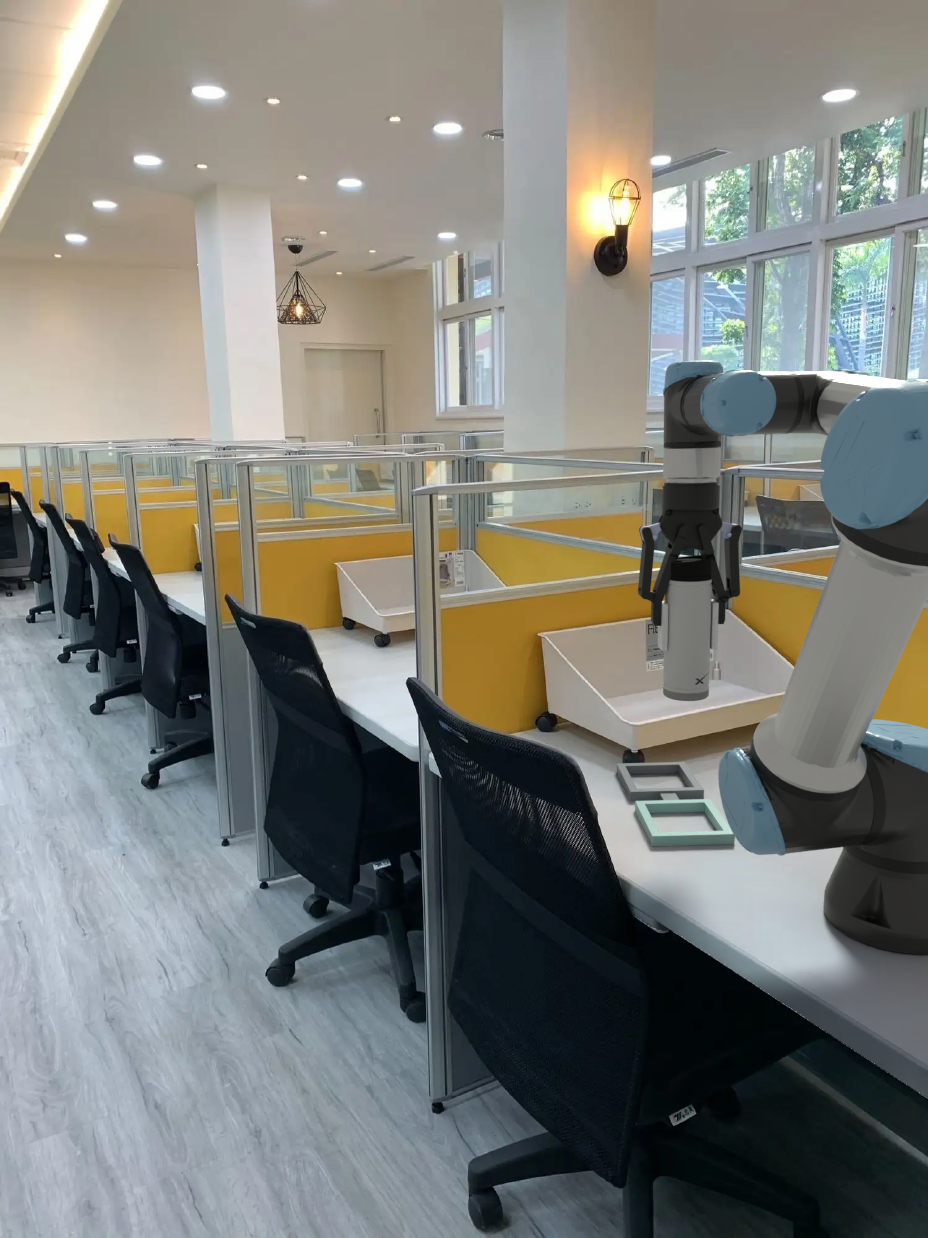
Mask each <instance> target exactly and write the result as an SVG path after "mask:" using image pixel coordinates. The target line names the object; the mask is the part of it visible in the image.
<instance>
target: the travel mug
mask: <svg viewBox="0 0 928 1238" xmlns="http://www.w3.org/2000/svg"><path fill="white" fill-rule="evenodd" d="M714 555H715V554H714ZM714 555H709V556H712V557H713V560H715V559H716V555H715V556H714ZM709 556H708V557H707V559H702V557H701V554H696V555H695V554H694V555H686V556H679V557H678V558H677V561H676V563H674V562H673V563H671V573H672V575H671V578H670V581H669V584H668V587H667V590H666V593H665V596H664V601H665V602H666V603H667V604H668V643H667V651H663V675H662V676H663V684H662V688H663V689H662V690H663V691H662V693H663V694H662V695H664V697H666V698H668V699H671V700H672V701H673V700H674V701H680V702H696V701H697V702H698V701H703V700H705V699H707V698H708V697H709V694H710V686H709V685H710V665H711V663H710V662H711V648H710V635H711V600H712V599H713V597H712V596H713V593H712V584H711V582H712V577H711V572H712V568H711V560H712V557H710V558H709Z"/></svg>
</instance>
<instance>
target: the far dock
mask: <svg viewBox="0 0 928 1238" xmlns="http://www.w3.org/2000/svg"><path fill="white" fill-rule="evenodd" d="M616 773H617V775H618V777H619V780H620V783H621V784H622V786H623V787H624V790H625V792H626V795H627V796H628V798H629V800H630V802H635V801H654V800H691V799H705V796H704V795H705V790H704V788H703V786H702V785H701V783H700V782H699V781H698V779H697V777H696V776H695V775H694V774H693V772H692V770H691V769H690V768H689V766H688V765H687V763H686V762H685V761H668V762H667V761H665V762H631V763H630V762H627V763H624V762H623V763H616ZM648 774H649V775H652V774H653V775H656V774H659V775H660V774H679V776H680V777H681V779H682V780H683V781H684V783H685V785H686V786H687V787H654V788H653V787H651V788H650V787H649V788H637V786H636V784H635V783H634V780H633V778H632V776H631V775H648Z"/></svg>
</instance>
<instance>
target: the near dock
mask: <svg viewBox="0 0 928 1238" xmlns="http://www.w3.org/2000/svg"><path fill="white" fill-rule="evenodd" d="M634 802H635V803H634V810H635V813H636V816H637V817H638V819H639V821H640V823H641V826H642V828H643V830H644V833H645V834H646V836H647V838H648V840H649V843H650V842H651V843H650V844H651V847H673V846H674V847H679V846H684V847H685V846H712V845H713V846H714V845H717V846H718V845H735V842H736V841H735V839H736V837H735V836H734V834H733V832H732V830H731V828H730V826H729V823H728V821H727V820H726V819H725V818H724V816H723V815H722V814H721V811H719V809H718V807H716V805H715V803H714V802H713V801H712V799H711V798H704V799H685V800H648V801H634ZM667 813H668V814H671V813H704V814H705V815H706V817H707V818H708V819H709V822H710V823H711V824H712V826H713V828H714V829H715V830H698V831H669V832H668V831H661V832H660V830H659V828H658V827H657V825H656V823H655V821H654V819H653V817H652V816H651V814H667Z"/></svg>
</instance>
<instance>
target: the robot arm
mask: <svg viewBox="0 0 928 1238" xmlns="http://www.w3.org/2000/svg"><path fill="white" fill-rule="evenodd" d="M664 377H665V378H664V387H663V390H662V394H663V460H662V461H663V462H662V464H663V465H662V477H663V478H664V479H666V481H665V482H664V483H663V484H662V500H661V503H662V505H661V506H662V507H661V508H662V509H661V510H662V511H661V516H660V518H659V519H658V522H656V523H652V524H650V525H641V526H640V527H639V529H638V531H639V535H640V538H641V543H642V544H641V552H640V554H641V555H640V561H639V562H640V563H639V564H640V565H639V573H638V583H637V585H638V586H637V594H638V595H639V597H640V598H642V599H643V600H647V601H650V607H651V608H650V622H651V624H652V625H653V626H654V627H657V647H658V648H659V649H660V650H661V651H663V652H664V651H667V643H668V604H667V603H666V602H665V593H666V590H667V587H668V584H669V581H670V578H671V575H672V573H671V563H673V562H674V563H676V561H677V558H678V557H680V555H681V552H682V551H687V550H691V549H692V550H697V551H698V552H699V555H701V557H702V559H707V557H708V556H709V555H714V556H715V557H716V555H715V549H714V547H713V543H712V541H713V540H714V538H715V537H716V536H717V534H718V532H720V531H721V537H722V538H723V539H724V543H723V544H724V545H723V546H724V547H723V549H724V567H725V585H724V582H723V579H722V575H721V573H720V569H719V566H718V562H717V558H715V560H713V557H712V556H709V558H710V557H712V560H711V568H712V572H711V577H712V582H711V584H712V596H713V598H714V599H713V598H712V600H711V635H710V650H718V638H719V636H718V634H719V625H724V624H725V622H726V610H727V609H726V606H727V604H726V603H727V602H728V601H729V600H730V599H732V598H737V597H739V596H740V595H741V583H740V581H741V579H740V577H741V576H740V555H739V554H740V553H739V540H740V537H741V534H742V530H743V527H742V525H740V524H736V523H734V522H733V523H732V522H731V523H729V522H725V521H723V519H722V517H721V516H720V503H721V502H720V497H721V484H719V481H716V479H718V478H720V477H721V470H722V469H721V467H722V465H721V464H722V463H721V462H722V458H721V457H722V456H721V454H722V436H725V437H729V438H730V437H735V436H736V437H744V436H748V435H752V436H753V435H755V436H756V435H783V434H784V435H785V434H819V435H824V436H826V439H825V442H824V444H823V449H822V452H821V457H820V464H819V465H820V466H819V468H820V469H821V470H823V475H822V477H821V478H820V480H819V485H820V487H819V488H820V492H821V496H822V499H823V503H824V505H825V507H826V508H827V510H828V511H829V513H830V514H831V517H830V520H831V524H832V527H833V529H834V531H835V532H836V533H837V535H838V536H839V537H840V542H839V545H838V547H837V549H836V553H835V556H834V558H833V561H832V564H831V566H830V569H829V571H828V574H827V577H826V581H825V583H824V586H823V588H822V590H821V594H820V596H819V599H818V601H817V605H816V608H815V610H814V613H813V615H812V618H811V621H810V624H809V626H808V629H807V633H806V635H805V637H804V640H803V643H802V646H801V648H800V651H799V654H798V656H797V659H796V662H795V664H794V667H793V670H792V673H791V676H790V677H789V682H788V684H787V687H786V689H785V691H784V694H783V697H782V700H781V703H780V705H779V708H778V711H777V712H776V713H773V714H771V715H768V716H766V717H765V718H764V719H762V720H761V721H760V722H759V724H757V727H756V728H755V731H754V733H753V736H752V739H751V741H750V744H749V746H748V747H745V748H741V747H735V748H734V749H731V750H727V751H726V752H724V753H723V755H722V756H721V758H720V761H719V765H718V773H717V774H718V790H719V794H720V800H721V805H722V808H723V811H724V812H723V813H724V815H725V817H726V822H727V824H728V825H729V826H730V828H731V830H732V832H733V834H734V836H735V839H736V840H737V843H738V844H740V845H741V847H743V848H744V850H746V851H748V852H750V853H752V854H754V855H757V856H758V855H759V856H766V855H768V856H769V855H778V856H782V857H783V856H785V855H786V854H796V853H803V852H811V851H812V852H813V851H819V850H829V849H838V848H842V851H841V853H840V855H839V857H838V860H837V861H836V864H835V866H834V868H833V870H832V873H831V874H830V876H829V879H828V881H827V883H826V886H825V889H824V895H823V913H824V915H825V917H826V919H827V920H828V921H829V923H831V925H832V926H834V927H835V928H836V929H837V930H839V931H840V932H841V933H842V934H845V935H846V936H848V937H850V938H851V939H854V940H856V941H858V942H861V943H863V944H865V945H869V946H871V947H874V948H878V949H882V950H886V951H891V952H895V953H896V952H897V953H900V954H901V953H903V954H911V955H913V954H914V955H928V728H925V727H922V726H917V725H914V724H910V723H906V722H905V723H904V722H901V721H895V720H886V719H876V718H874V717H875V715H876V713H877V710H878V708H879V705H880V704H881V701H882V699H883V697H884V694H885V692H886V690H887V689H888V686H889V684H890V682H891V680H892V677H893V675H894V673H895V670H896V668H897V666H898V664H899V662H900V660H901V657H902V655H903V653H904V651H905V649H906V647H907V644H908V642H909V640H910V637H911V636H912V633H913V631H914V629H915V627H916V625H917V623H918V620H919V619H920V616H921V613H922V611H923V610H924V609H923V608H924V607H925V605H926V602H927V600H928V378H917V379H916V378H915V379H910V380H902V379H895V378H888V377H887V378H886V377H878V376H872V375H871V374H870V373H868V372H865V371H861V370H859V371H858V370H851V369H834V370H818V371H817V370H815V371H814V370H811V371H807V370H806V371H791V370H790V371H754V370H750V369H739V370H737V369H731V370H726V371H725V372H724V368H723V366H722V363H721V362H719V361H717V360H686V361H678V362H672V363H670V364H669V365H667V367H666V370H665V376H664ZM660 532H661V533H662V535H664V537H665V538H666V540H667V541H668V542H667V544H666V547H665V551H664V556H663V559H662V561H661V564H660V567H659V571H658V574H657V576H656V579H655V581H654V585H653V588H652V580H653V579H652V576H653V567H654V555H655V541H657V540H658V537H659V533H660ZM651 589H652V590H651Z"/></svg>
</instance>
